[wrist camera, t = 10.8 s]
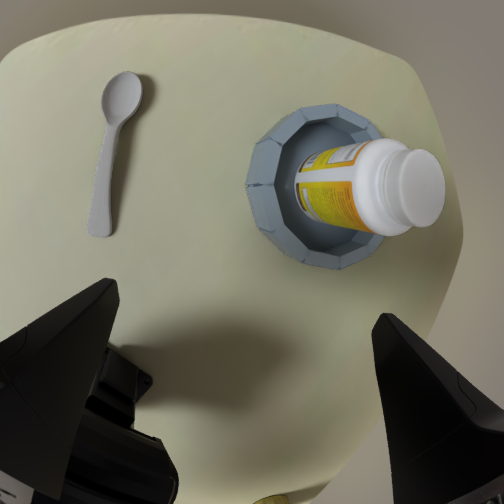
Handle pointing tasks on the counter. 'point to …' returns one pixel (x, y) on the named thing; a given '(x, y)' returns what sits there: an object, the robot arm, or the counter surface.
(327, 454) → the counter surface
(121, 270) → the counter surface
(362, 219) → the supplement bottle
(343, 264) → the bowl
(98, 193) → the spoon
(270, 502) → the vase
